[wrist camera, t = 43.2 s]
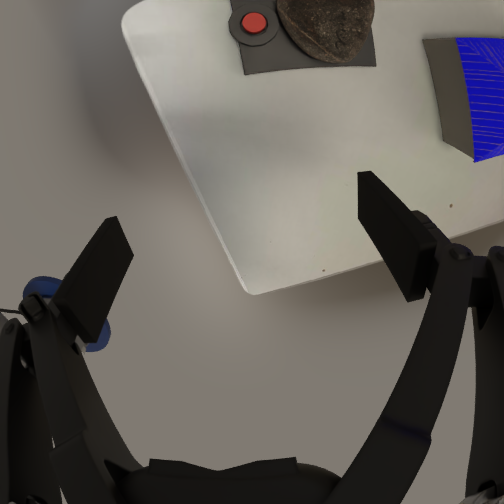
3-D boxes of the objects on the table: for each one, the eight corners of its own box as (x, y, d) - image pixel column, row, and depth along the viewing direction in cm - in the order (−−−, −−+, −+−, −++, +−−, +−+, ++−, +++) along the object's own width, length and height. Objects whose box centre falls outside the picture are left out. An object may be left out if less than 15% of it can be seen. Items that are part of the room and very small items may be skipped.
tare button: (244, 35, 25) (244, 33, 24) (241, 16, 24) (240, 14, 22) (266, 32, 25) (267, 30, 24) (263, 13, 24) (263, 11, 22)
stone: (383, 49, 26) (401, 48, 22) (306, 75, 29) (315, 76, 25) (342, -28, 20) (356, -40, 16) (261, -4, 23) (263, -15, 19)
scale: (239, 75, 31) (238, 76, 28) (222, -10, 24) (220, -17, 21) (371, 66, 29) (382, 67, 26) (358, -16, 22) (368, -23, 19)
